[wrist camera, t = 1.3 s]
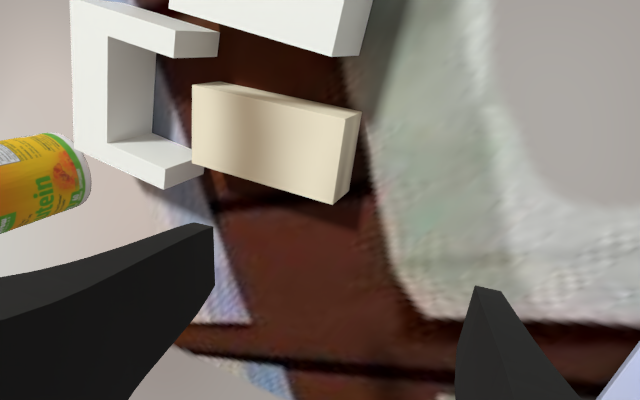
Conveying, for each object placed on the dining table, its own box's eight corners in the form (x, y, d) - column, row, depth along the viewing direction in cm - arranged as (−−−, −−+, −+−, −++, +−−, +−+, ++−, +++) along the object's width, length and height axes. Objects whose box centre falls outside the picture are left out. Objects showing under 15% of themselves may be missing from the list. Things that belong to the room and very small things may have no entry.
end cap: (220, 32, 21) (175, 30, 18) (203, 173, 25) (163, 189, 22) (123, 2, 23) (69, -4, 20) (120, 138, 26) (74, 148, 24)
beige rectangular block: (364, 110, 20) (345, 119, 18) (351, 188, 21) (332, 205, 19) (223, 80, 22) (192, 84, 20) (220, 152, 24) (191, 163, 22)
